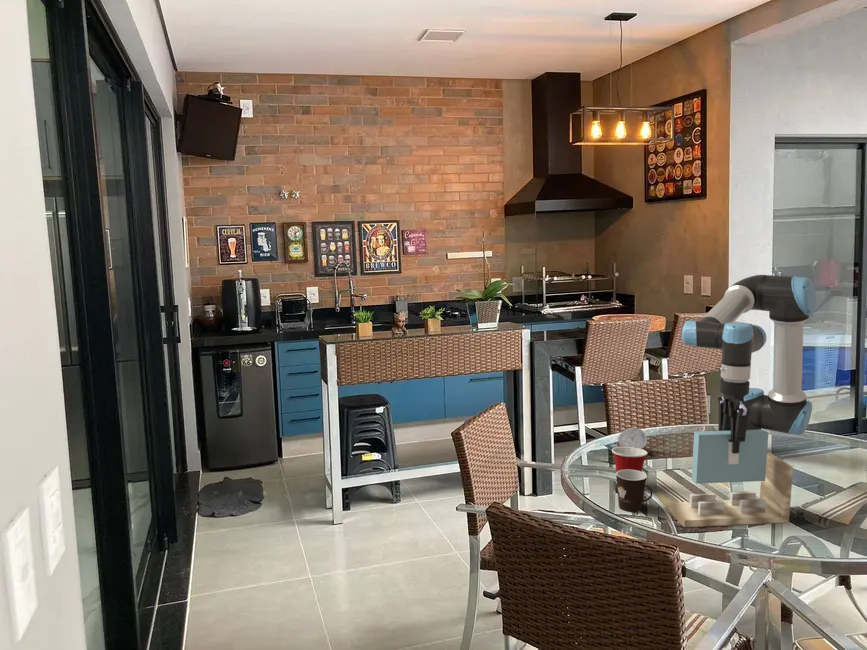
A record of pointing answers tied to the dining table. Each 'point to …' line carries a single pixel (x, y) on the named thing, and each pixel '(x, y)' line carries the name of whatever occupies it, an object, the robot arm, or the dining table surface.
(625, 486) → the coffee mug
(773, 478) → the hinge base
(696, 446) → the door
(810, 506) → the dining table surface
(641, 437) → the canned food
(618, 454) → the plastic cup
